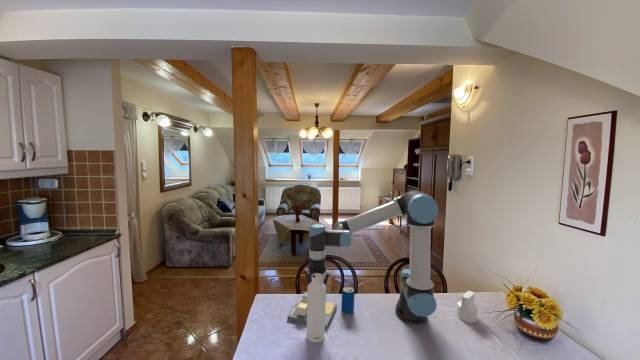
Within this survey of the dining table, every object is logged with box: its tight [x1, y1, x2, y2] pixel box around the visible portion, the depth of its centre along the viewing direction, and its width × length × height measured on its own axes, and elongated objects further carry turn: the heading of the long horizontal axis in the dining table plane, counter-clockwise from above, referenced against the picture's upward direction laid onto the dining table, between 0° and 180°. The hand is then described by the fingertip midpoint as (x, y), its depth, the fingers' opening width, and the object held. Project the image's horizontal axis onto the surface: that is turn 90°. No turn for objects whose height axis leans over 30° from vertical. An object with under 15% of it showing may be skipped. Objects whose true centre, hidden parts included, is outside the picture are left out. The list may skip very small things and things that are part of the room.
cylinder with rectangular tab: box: [456, 290, 479, 323], centre depth 132 cm, size 9×9×12 cm
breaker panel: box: [287, 296, 338, 330], centre depth 131 cm, size 20×18×2 cm
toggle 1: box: [297, 302, 307, 316], centre depth 127 cm, size 4×4×4 cm
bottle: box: [305, 273, 327, 343], centre depth 114 cm, size 8×8×28 cm
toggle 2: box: [302, 291, 308, 304], centre depth 137 cm, size 4×4×4 cm
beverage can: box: [340, 286, 356, 315], centre depth 134 cm, size 6×6×12 cm
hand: (317, 304), depth 125 cm, fingers closed
